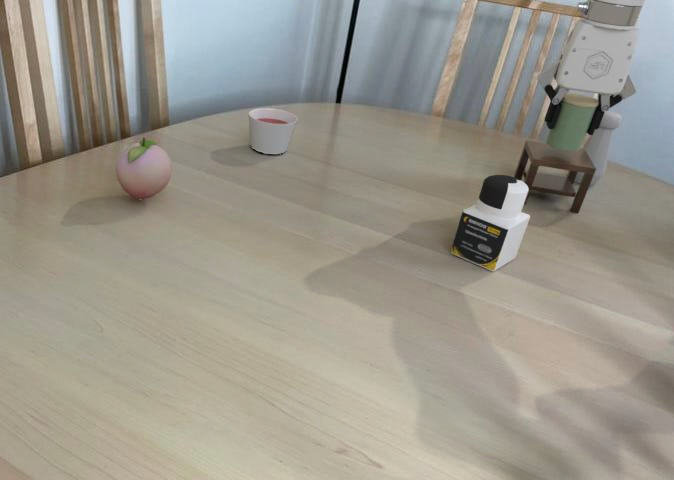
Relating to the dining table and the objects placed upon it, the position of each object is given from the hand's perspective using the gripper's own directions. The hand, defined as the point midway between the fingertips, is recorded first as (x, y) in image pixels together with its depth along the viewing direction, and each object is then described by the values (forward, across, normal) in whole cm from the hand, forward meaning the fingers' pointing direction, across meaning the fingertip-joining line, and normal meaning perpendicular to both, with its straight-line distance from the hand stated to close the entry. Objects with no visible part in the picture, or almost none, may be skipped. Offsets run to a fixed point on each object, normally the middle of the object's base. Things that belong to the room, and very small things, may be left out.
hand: (569, 128), depth 125 cm
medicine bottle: (+13, -13, -29) cm, 34 cm away
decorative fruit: (+13, -65, -30) cm, 73 cm away
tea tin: (+3, 0, 0) cm, 3 cm away
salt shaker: (+13, +9, +12) cm, 20 cm away
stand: (+12, 0, 0) cm, 12 cm away
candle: (+13, -50, +2) cm, 52 cm away
